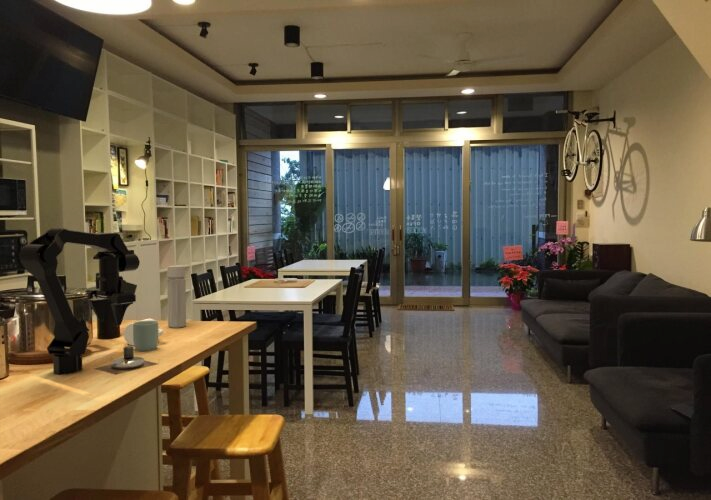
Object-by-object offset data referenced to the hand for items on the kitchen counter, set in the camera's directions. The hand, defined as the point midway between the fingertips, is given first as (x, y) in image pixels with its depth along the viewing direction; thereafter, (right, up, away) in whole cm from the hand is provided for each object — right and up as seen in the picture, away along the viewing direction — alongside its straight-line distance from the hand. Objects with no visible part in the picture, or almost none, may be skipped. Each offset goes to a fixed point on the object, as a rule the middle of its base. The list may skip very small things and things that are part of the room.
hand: (110, 323), depth 174 cm
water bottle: (+3, -9, +57) cm, 57 cm away
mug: (+1, -11, +28) cm, 30 cm away
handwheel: (+9, -11, -9) cm, 17 cm away
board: (+9, -13, -9) cm, 18 cm away
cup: (+6, -12, +13) cm, 19 cm away
